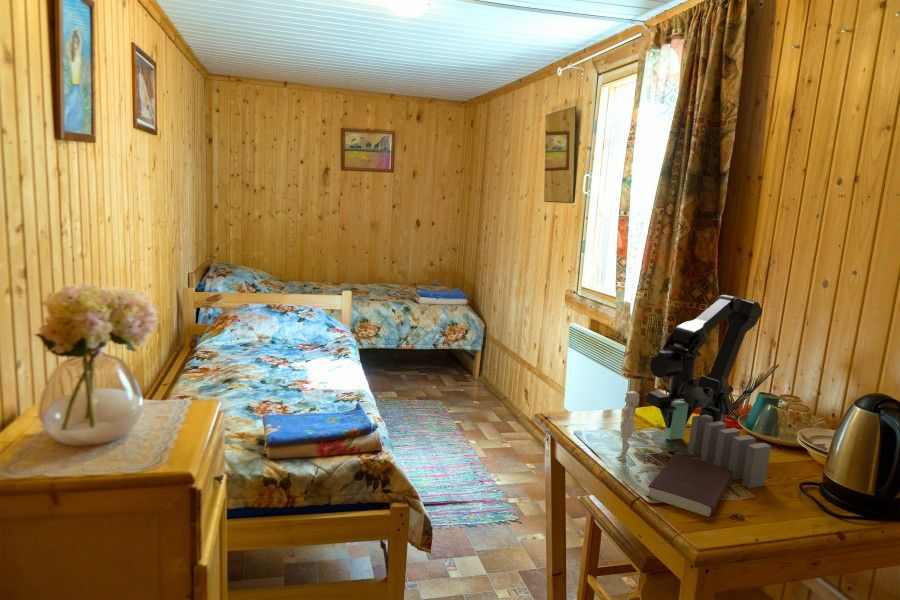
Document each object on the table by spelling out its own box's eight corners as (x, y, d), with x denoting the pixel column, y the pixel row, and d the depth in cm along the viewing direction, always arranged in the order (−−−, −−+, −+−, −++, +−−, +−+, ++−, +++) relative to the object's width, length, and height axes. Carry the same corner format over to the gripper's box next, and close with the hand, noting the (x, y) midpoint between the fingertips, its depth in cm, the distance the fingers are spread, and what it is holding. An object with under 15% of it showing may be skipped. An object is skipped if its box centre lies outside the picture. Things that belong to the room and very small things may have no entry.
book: (732, 483, 149) (734, 468, 148) (711, 520, 131) (713, 504, 131) (672, 465, 157) (673, 452, 156) (645, 499, 139) (646, 483, 138)
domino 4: (742, 473, 153) (748, 435, 151) (749, 476, 152) (755, 438, 150) (727, 475, 152) (733, 437, 150) (733, 479, 150) (739, 440, 148)
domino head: (678, 434, 174) (683, 400, 172) (683, 437, 172) (688, 403, 170) (664, 436, 172) (668, 402, 170) (669, 439, 170) (674, 405, 168)
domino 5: (757, 481, 149) (764, 442, 147) (764, 485, 147) (771, 446, 146) (741, 484, 147) (748, 444, 145) (748, 488, 146) (755, 448, 144)
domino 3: (728, 465, 157) (734, 427, 156) (734, 468, 156) (740, 431, 154) (713, 467, 156) (718, 429, 154) (719, 471, 154) (725, 433, 152)
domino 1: (702, 450, 166) (707, 414, 164) (707, 453, 164) (713, 417, 162) (687, 452, 164) (692, 416, 162) (693, 455, 162) (698, 419, 160)
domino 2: (715, 457, 162) (720, 421, 160) (721, 460, 160) (726, 424, 158) (700, 459, 160) (705, 423, 158) (705, 463, 158) (711, 426, 156)
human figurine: (612, 448, 163) (620, 383, 160) (627, 449, 163) (635, 384, 160) (620, 469, 152) (628, 399, 148) (636, 470, 151) (644, 400, 148)
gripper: (676, 384, 157) (668, 442, 161) (732, 379, 164) (724, 435, 167) (647, 371, 168) (640, 426, 171) (701, 367, 175) (693, 419, 178)
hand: (675, 427), depth 171 cm, fingers closed on domino head, 5 cm apart
